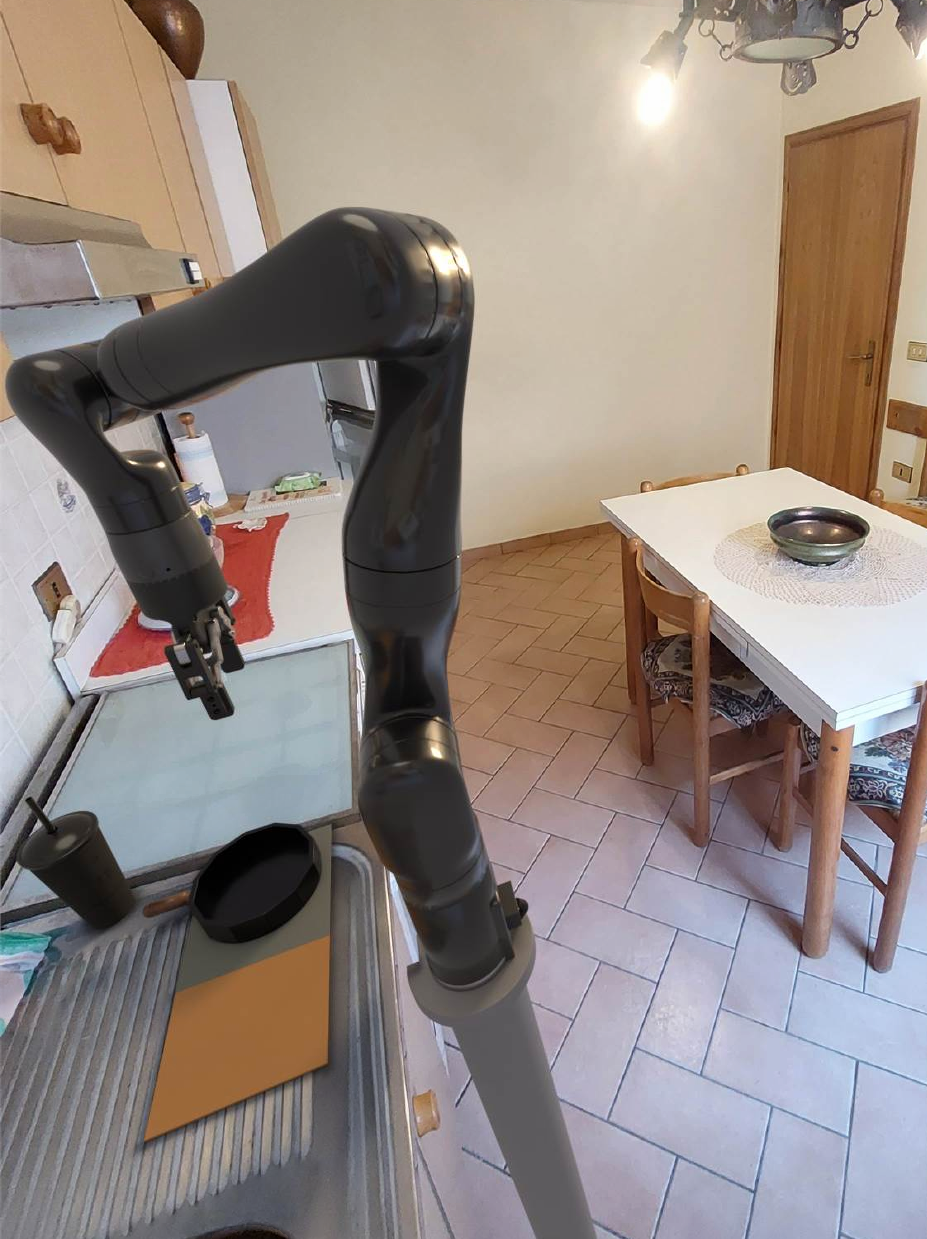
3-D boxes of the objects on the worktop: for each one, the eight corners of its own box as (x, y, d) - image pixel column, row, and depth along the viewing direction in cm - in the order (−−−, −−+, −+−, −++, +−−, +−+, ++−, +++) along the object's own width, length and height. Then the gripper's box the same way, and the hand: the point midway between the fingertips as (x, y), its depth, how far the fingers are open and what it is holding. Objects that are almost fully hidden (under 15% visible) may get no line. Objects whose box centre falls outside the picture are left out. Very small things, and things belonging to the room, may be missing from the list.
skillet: (323, 826, 90) (315, 808, 88) (320, 915, 79) (311, 896, 77) (166, 878, 85) (154, 860, 83) (138, 982, 73) (123, 964, 72)
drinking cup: (60, 944, 79) (-35, 831, 69) (102, 885, 85) (20, 775, 76) (124, 937, 79) (37, 824, 69) (160, 880, 85) (86, 769, 76)
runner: (331, 825, 91) (331, 823, 90) (327, 1064, 65) (326, 1063, 65) (203, 868, 86) (202, 866, 86) (145, 1142, 60) (143, 1141, 60)
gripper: (198, 584, 58) (260, 722, 66) (222, 523, 70) (273, 647, 78) (101, 606, 56) (177, 746, 64) (143, 539, 68) (203, 664, 76)
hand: (230, 691), depth 71 cm, fingers open, 8 cm apart
